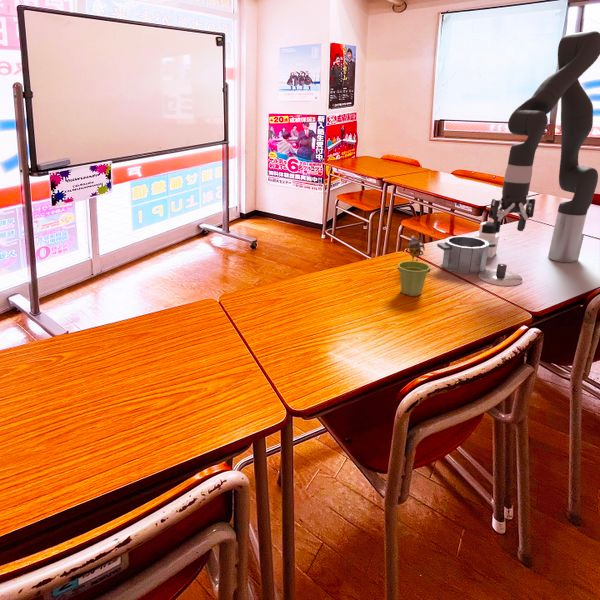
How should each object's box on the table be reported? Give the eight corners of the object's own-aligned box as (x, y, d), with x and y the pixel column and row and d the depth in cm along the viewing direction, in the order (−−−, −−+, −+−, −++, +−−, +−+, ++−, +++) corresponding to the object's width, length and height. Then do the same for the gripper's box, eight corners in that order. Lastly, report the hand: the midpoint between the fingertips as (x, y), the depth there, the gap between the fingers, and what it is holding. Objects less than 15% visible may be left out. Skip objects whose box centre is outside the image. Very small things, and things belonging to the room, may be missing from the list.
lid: (505, 270, 175) (508, 257, 173) (530, 285, 163) (533, 270, 161) (470, 273, 172) (472, 259, 170) (493, 288, 160) (495, 273, 158)
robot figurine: (431, 266, 177) (435, 233, 173) (430, 275, 169) (434, 241, 164) (399, 263, 180) (402, 230, 175) (397, 272, 172) (400, 238, 167)
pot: (477, 258, 186) (480, 234, 182) (499, 271, 173) (504, 246, 170) (428, 261, 182) (431, 237, 178) (448, 275, 169) (451, 249, 166)
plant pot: (392, 287, 159) (394, 261, 156) (421, 286, 160) (424, 260, 157) (400, 298, 151) (402, 271, 147) (430, 298, 152) (434, 270, 148)
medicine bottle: (496, 253, 192) (501, 222, 187) (491, 258, 186) (496, 226, 181) (477, 249, 195) (481, 219, 190) (472, 254, 190) (476, 223, 185)
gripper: (530, 177, 159) (520, 227, 166) (489, 178, 156) (481, 229, 163) (545, 181, 153) (535, 233, 159) (503, 182, 150) (494, 235, 156)
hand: (508, 231), depth 161 cm, fingers open, 8 cm apart
